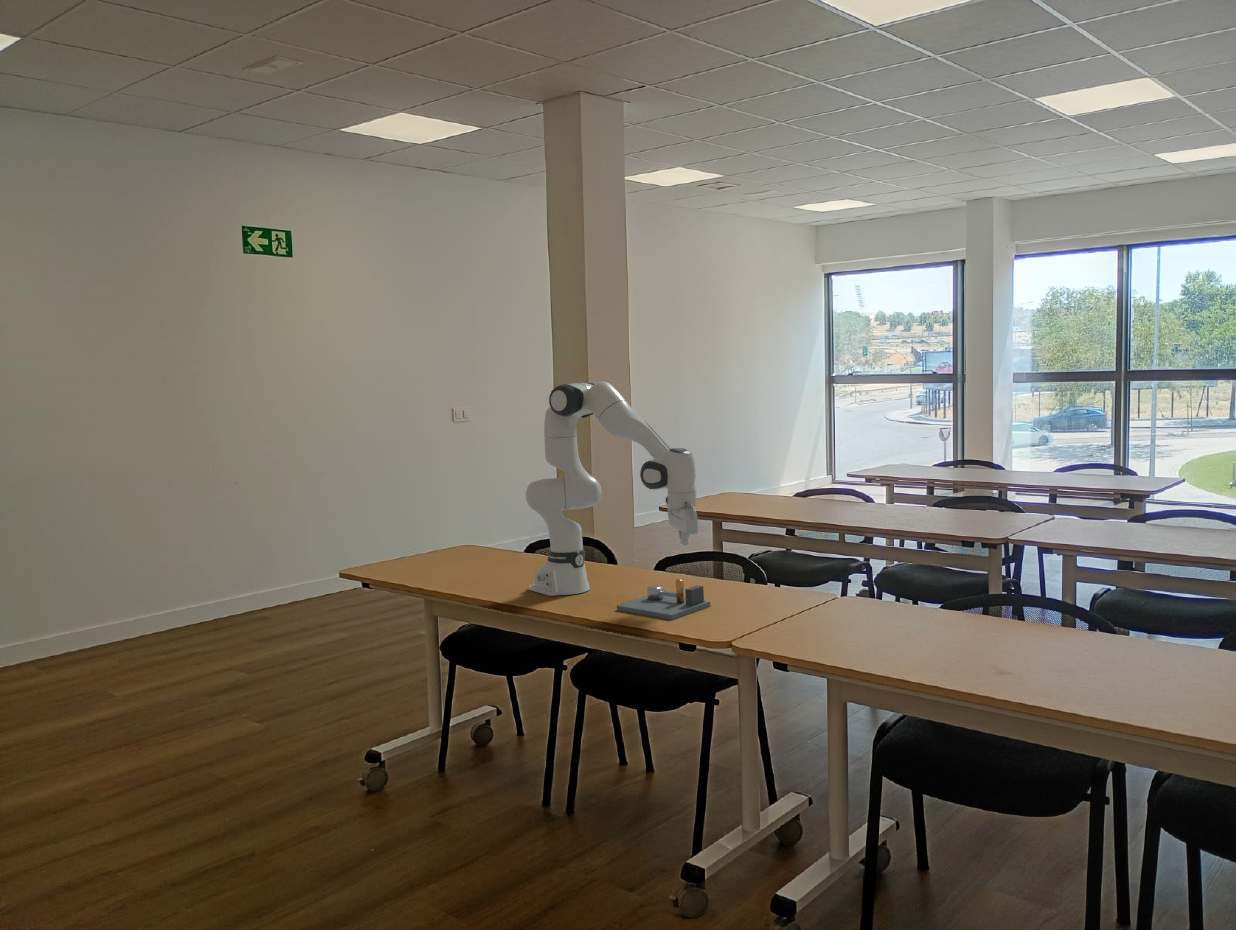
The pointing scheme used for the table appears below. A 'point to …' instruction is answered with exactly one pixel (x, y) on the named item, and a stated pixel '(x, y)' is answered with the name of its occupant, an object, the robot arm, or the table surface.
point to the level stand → (668, 605)
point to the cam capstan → (667, 592)
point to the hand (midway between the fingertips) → (684, 544)
